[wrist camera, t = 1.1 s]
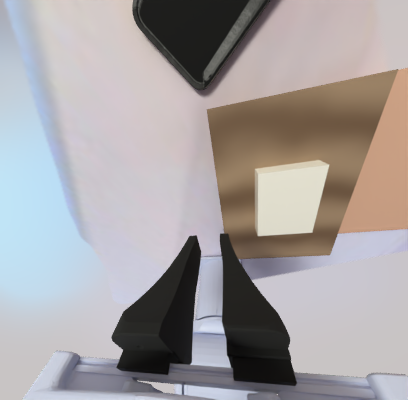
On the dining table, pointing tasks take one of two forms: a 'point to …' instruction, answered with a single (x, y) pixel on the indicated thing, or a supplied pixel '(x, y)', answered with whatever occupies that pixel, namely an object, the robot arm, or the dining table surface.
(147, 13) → the phone
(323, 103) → the butcher block
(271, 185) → the tile
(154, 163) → the dining table surface
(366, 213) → the mat
